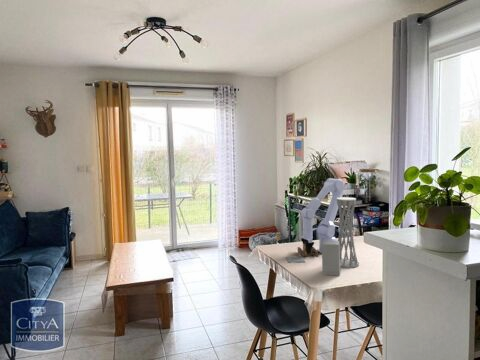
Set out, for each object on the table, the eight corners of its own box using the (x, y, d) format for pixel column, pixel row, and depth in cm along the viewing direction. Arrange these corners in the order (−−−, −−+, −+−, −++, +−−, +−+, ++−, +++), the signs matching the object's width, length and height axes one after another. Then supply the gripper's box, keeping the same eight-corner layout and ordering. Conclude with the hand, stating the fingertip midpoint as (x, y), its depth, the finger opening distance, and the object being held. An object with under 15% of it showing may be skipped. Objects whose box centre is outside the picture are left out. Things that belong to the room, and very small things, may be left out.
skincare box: (340, 272, 174) (340, 240, 173) (339, 276, 167) (339, 244, 166) (322, 270, 177) (323, 239, 176) (321, 275, 170) (321, 242, 169)
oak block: (310, 253, 207) (310, 243, 207) (312, 255, 203) (312, 245, 202) (302, 253, 207) (302, 243, 207) (304, 255, 203) (304, 245, 202)
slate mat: (301, 257, 199) (301, 256, 199) (305, 262, 190) (305, 261, 190) (285, 257, 199) (285, 257, 199) (288, 262, 190) (288, 261, 190)
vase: (351, 259, 194) (352, 196, 192) (363, 267, 181) (365, 199, 178) (328, 261, 192) (328, 197, 189) (339, 269, 179) (339, 200, 176)
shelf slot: (313, 251, 210) (313, 246, 210) (317, 256, 200) (317, 251, 200) (297, 252, 210) (297, 247, 210) (301, 257, 200) (301, 251, 200)
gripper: (298, 226, 211) (298, 248, 212) (303, 231, 196) (303, 255, 197) (309, 226, 211) (309, 248, 212) (315, 231, 197) (315, 255, 198)
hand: (307, 252), depth 205 cm, fingers open, 6 cm apart
